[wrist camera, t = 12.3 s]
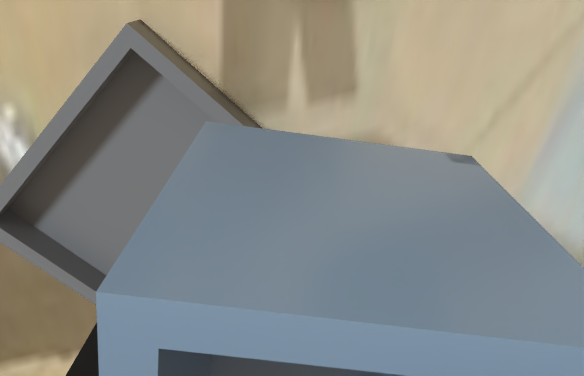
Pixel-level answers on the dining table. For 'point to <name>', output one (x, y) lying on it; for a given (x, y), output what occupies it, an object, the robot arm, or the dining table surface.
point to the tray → (107, 158)
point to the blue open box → (337, 268)
